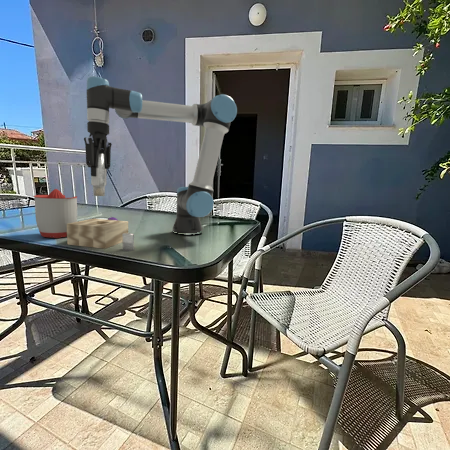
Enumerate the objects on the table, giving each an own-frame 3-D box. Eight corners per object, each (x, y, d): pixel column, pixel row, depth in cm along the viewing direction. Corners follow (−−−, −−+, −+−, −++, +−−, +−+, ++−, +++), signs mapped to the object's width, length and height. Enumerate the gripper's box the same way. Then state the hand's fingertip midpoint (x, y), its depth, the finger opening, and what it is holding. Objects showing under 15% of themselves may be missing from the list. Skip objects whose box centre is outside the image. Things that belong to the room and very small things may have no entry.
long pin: (106, 195, 107) (106, 154, 104) (100, 196, 103) (100, 153, 100) (97, 195, 108) (97, 154, 105) (91, 195, 104) (90, 153, 101)
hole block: (128, 239, 115) (128, 221, 113) (105, 248, 99) (105, 227, 98) (94, 236, 117) (94, 218, 116) (67, 244, 102) (66, 223, 101)
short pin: (135, 248, 101) (135, 233, 100) (130, 251, 98) (130, 235, 97) (126, 247, 102) (126, 232, 101) (120, 250, 98) (120, 234, 97)
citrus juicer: (89, 233, 122) (88, 189, 119) (56, 241, 106) (54, 190, 102) (62, 230, 126) (60, 187, 123) (26, 236, 110) (23, 187, 106)
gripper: (103, 127, 110) (103, 184, 114) (73, 116, 93) (74, 184, 97) (120, 127, 109) (120, 185, 112) (92, 117, 92) (93, 186, 96)
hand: (99, 185), depth 105 cm, fingers closed on long pin, 4 cm apart
